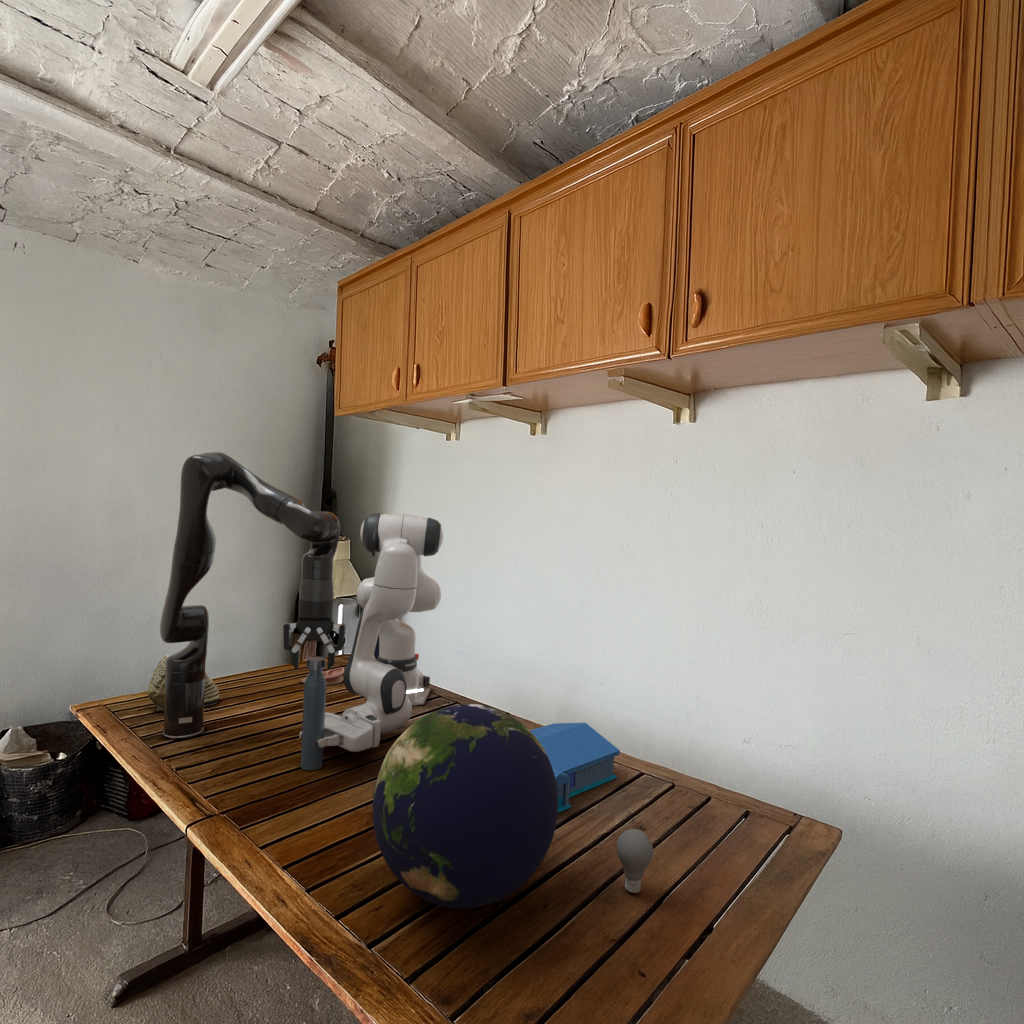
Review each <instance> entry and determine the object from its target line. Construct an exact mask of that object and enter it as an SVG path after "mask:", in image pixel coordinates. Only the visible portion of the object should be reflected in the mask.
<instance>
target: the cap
mask: <svg viewBox="0 0 1024 1024" xmlns="http://www.w3.org/2000/svg"><path fill="white" fill-rule="evenodd" d="M326 666H327V659H326V657H324V656H309V657H307V659H306V666H305V667H306V670H308V671H309V670H322V669H323V670H325V669H326V668H327V667H326ZM323 670H322V671H323Z"/></svg>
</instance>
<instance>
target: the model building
mask: <svg viewBox="0 0 1024 1024" xmlns="http://www.w3.org/2000/svg"><path fill="white" fill-rule="evenodd" d="M529 730H530V732H531V733H532V734H533V735H534V736H535V737H536V738H537V739H538V741H539V742H540V743H541V745H542V747H543V748H544V750H545V752H546V753H547V756H548V758H549V761H550V763H551V765H552V768H553V772H554V775H555V779H556V784H557V791H558V814H559V813H562V812H563V811H566V810H569V809H571V808H572V805H571V804H570V798H572V797H575V796H577V795H580V794H582V793H585V792H587V791H589V790H591V789H594V788H597V787H599V786H601V785H603V784H605V783H609V782H610V781H613V780H615V779H617V778H618V776H617V775H616V774H614V771H615V770H614V768H615V767H614V765H615V757H617V756H620V754H621V750H620V749H619V748H618V747H617V746H616V745H614V744H613V743H612V742H611V741H610V740H607V738H605V737H604V736H603V735H601V734H600V733H599V732H598V731H597V730H596V729H594V728H593V727H592V726H591V725H589V724H588V723H587V722H560V723H559V722H558V723H555V722H554V723H550V724H546V725H544V726H543V725H542V726H540V727H537V728H533V729H529Z"/></svg>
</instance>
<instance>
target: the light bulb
mask: <svg viewBox="0 0 1024 1024" xmlns="http://www.w3.org/2000/svg"><path fill="white" fill-rule="evenodd" d="M615 849H616V854H617V857H618V859H619V861H620V863H621V865H622V867H623V873H624V874H623V875H624V876H625V878H624V888H625V890H627V891H628V892H630V893H634V894H635V893H639V892H640V891H641V889H642V887H641V886H642V879H643V877H644V875H645V871H646V868H647V867H648V866H649V864H650V863H651V861H652V859H653V855H654V847H653V843H652V841H651V838H649V836H648V835H647V834H646V833H645V832H643V831H642V830H641V829H636V828H629V829H627V830H625V831H623V832H622V833H621V834H620V835H619V837H618V839H617V841H616V847H615Z"/></svg>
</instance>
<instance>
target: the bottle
mask: <svg viewBox="0 0 1024 1024" xmlns="http://www.w3.org/2000/svg"><path fill="white" fill-rule="evenodd" d="M323 671H324V669H322V670H309V669H308V674H307V675H306V677H307V678H306V677H305V678H306V680H305V683H303V699H302V718H301V721H302V722H301V731H302V739H301V744H300V763H299V764H300V769H302V770H304V771H317V770H320V769H321V768H322V767H323V766H324V748H325V747H321V748H320V747H319V746H316V740H317V739H318V738H321V737H324V728H325V712H326V701H327V685H326V680H325V677H324V675H323V673H322V672H323Z"/></svg>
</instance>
